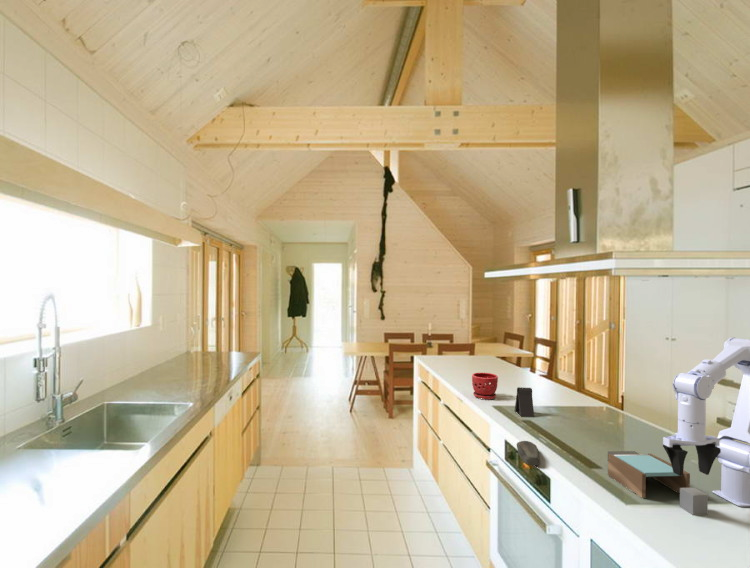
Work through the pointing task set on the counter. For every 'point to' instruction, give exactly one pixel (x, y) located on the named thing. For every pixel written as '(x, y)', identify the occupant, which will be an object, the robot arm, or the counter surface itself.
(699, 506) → the slate block
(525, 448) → the decorative stone
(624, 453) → the trapdoor flap
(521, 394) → the phone stand
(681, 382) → the robot arm
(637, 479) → the stand
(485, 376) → the plant pot
